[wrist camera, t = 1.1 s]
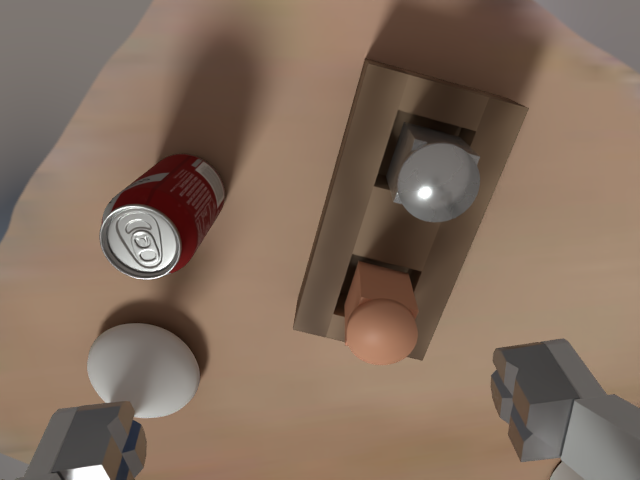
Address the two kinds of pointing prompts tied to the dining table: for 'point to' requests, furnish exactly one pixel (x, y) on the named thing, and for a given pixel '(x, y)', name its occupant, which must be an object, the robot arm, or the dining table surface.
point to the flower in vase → (143, 369)
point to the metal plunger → (433, 173)
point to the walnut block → (392, 218)
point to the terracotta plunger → (380, 315)
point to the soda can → (162, 217)
